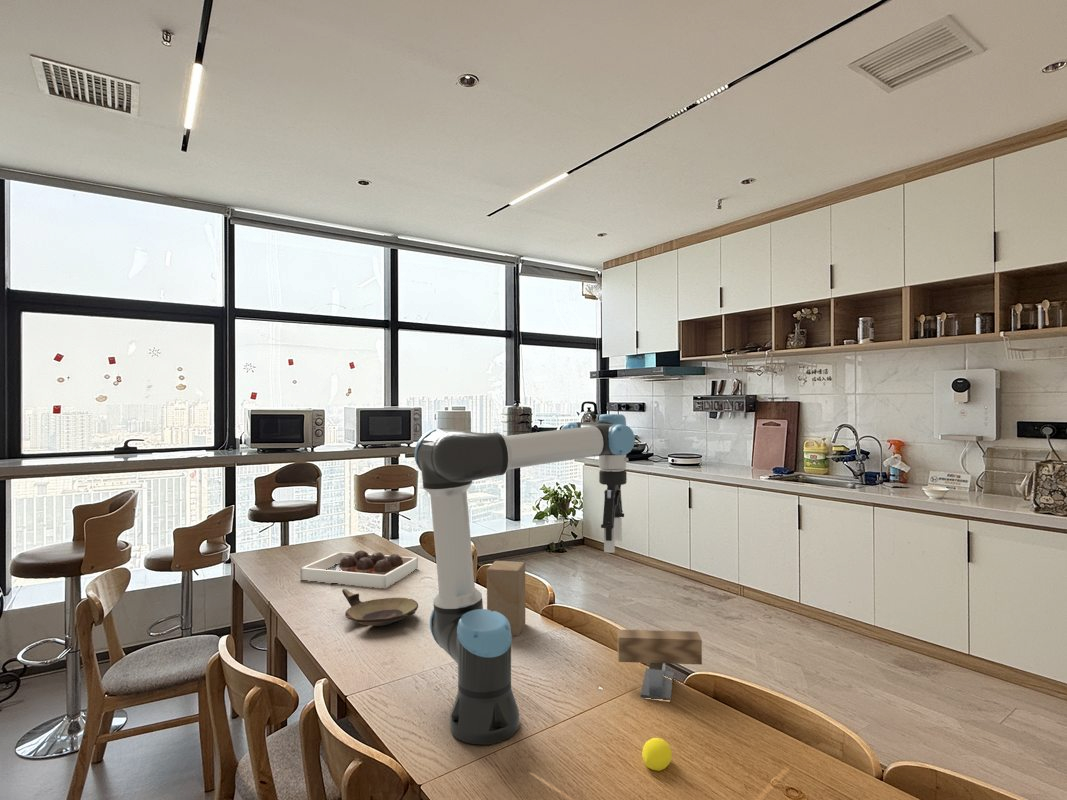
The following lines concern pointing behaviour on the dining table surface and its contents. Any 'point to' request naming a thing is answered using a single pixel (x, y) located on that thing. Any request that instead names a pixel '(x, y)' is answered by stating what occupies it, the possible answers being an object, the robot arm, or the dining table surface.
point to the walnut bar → (659, 646)
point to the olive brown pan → (378, 609)
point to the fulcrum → (657, 682)
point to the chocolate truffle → (370, 563)
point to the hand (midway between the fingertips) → (613, 546)
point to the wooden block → (507, 592)
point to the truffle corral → (320, 573)
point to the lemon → (656, 754)
